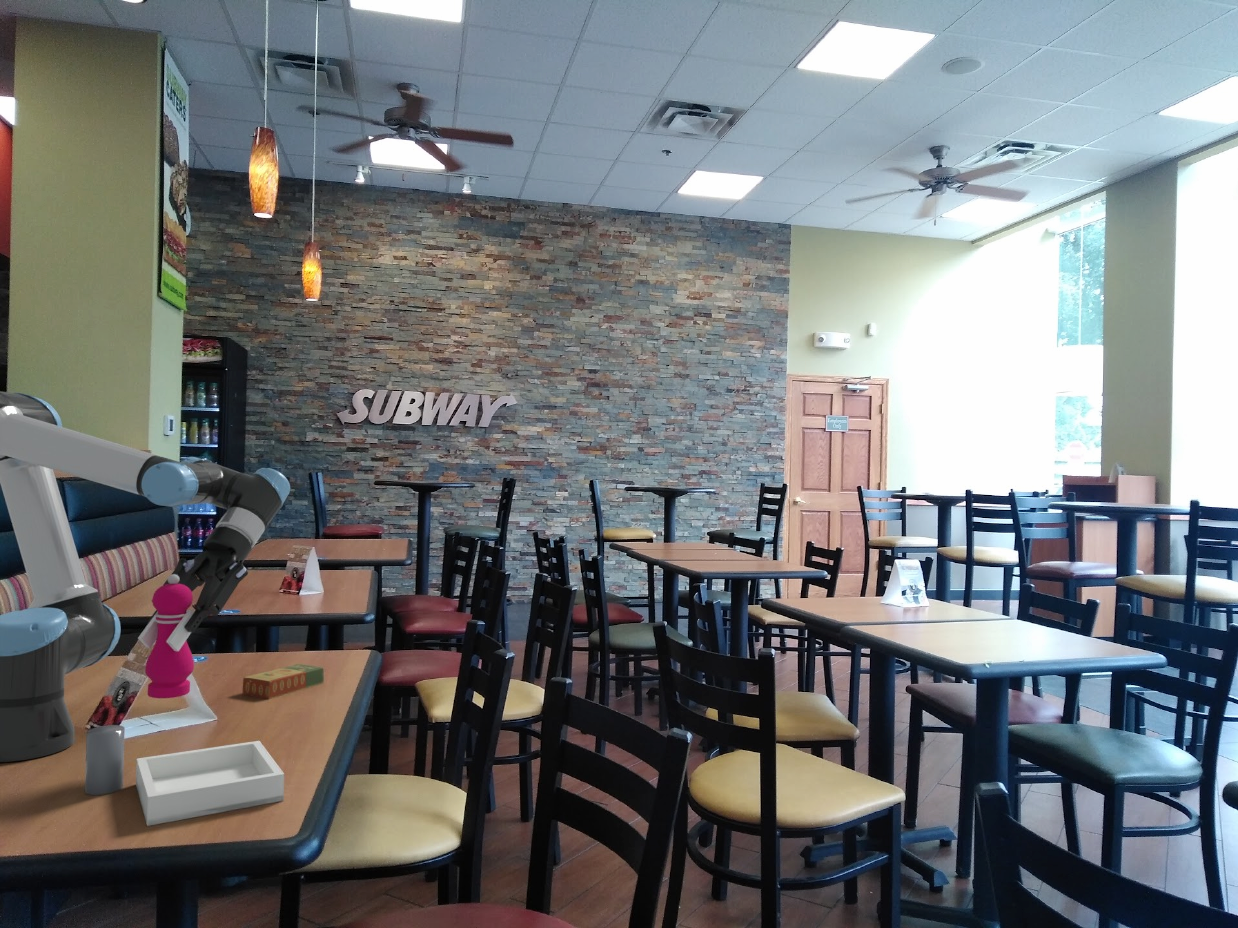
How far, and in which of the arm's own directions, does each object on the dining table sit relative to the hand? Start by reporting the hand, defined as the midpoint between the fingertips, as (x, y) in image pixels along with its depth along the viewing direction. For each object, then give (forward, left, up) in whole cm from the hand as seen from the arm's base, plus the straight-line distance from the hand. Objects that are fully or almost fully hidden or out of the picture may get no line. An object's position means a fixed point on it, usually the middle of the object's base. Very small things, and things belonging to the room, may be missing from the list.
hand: (158, 644), depth 139 cm
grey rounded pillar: (-7, -6, -20) cm, 22 cm away
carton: (+30, +42, -21) cm, 56 cm away
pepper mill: (+2, +2, -9) cm, 9 cm away
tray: (+6, -15, -20) cm, 26 cm away
